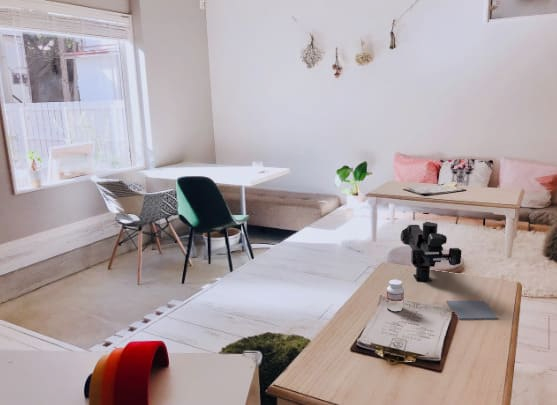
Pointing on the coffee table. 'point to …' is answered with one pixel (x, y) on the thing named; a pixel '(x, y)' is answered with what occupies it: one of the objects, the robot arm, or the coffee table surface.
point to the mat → (472, 310)
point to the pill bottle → (395, 291)
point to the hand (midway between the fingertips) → (442, 264)
